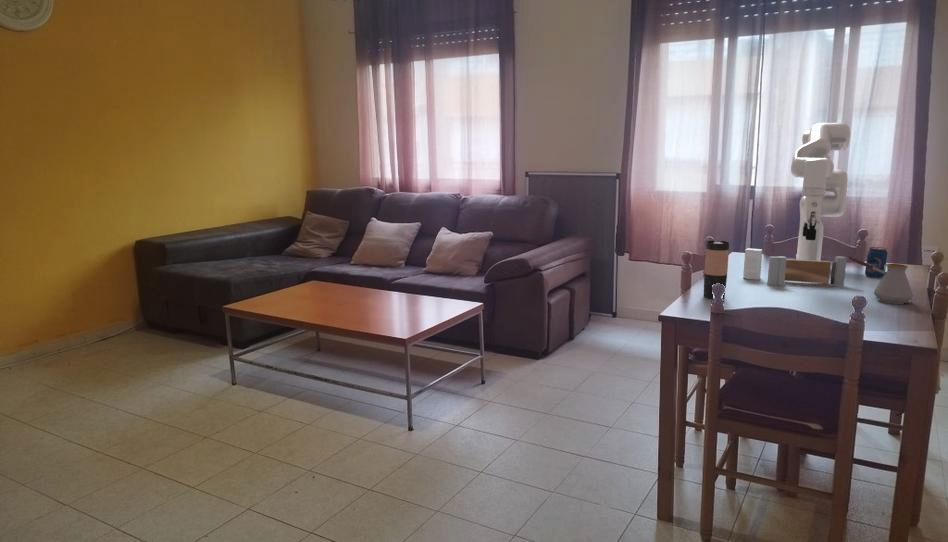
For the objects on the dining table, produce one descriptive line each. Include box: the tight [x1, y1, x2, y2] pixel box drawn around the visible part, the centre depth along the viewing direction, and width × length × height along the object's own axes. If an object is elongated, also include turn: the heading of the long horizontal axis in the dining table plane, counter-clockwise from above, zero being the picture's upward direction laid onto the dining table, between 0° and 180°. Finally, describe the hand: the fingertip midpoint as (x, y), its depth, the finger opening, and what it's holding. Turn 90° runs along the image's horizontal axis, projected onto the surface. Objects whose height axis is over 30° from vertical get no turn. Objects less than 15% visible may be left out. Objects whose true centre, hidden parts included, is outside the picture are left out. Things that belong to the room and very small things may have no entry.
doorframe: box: [766, 255, 848, 287], centre depth 249 cm, size 3×28×11 cm, turn 89°
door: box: [784, 258, 836, 284], centre depth 252 cm, size 2×19×8 cm, turn 69°
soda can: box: [864, 246, 888, 279], centre depth 263 cm, size 7×7×12 cm
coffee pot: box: [845, 256, 914, 305], centre depth 225 cm, size 21×12×15 cm, turn 68°
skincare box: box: [742, 247, 763, 280], centre depth 261 cm, size 6×4×12 cm
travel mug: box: [703, 240, 730, 300], centre depth 230 cm, size 8×8×20 cm
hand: (808, 238), depth 243 cm, fingers open, 9 cm apart
